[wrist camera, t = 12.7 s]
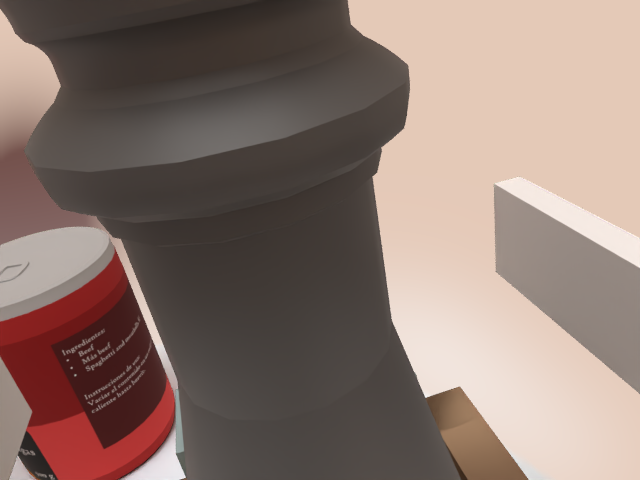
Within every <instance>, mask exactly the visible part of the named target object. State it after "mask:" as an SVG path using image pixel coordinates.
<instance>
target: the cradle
mask: <svg viewBox="0 0 640 480" xmlns="http://www.w3.org/2000/svg"><path fill="white" fill-rule="evenodd" d="M425 399H426V401H427V403H428V405H429V408H430V410H431V412H432V415H433V417H434V419H435V422H436V424H437V426H438V429H439V431H440V433H441V435H442V438H443V440H444V442H445V444H446V447H447V449H448V451H449V453H450V455H451V458H452V460H453V462H454V464H455V467H456V469H457V471H458V473H459V476H460V478H461V480H528V478H527V477H526V476H525V474H524V473H523V471H522V470H521V469H520V467H519V466H518V465H517V463H516V462H515V461H514V459H513V458H512V457H511V455H510V454H509V452H508V451H507V450H506V448H505V447H504V446H503V444H502V443H501V442H500V440H499V439H498V438H497V436H496V435H495V433H494V432H493V431H492V430H491V428H490V427H489V425H488V424H487V423H486V421H485V420H484V419H483V417H482V416H481V415H480V413H479V412H478V411H477V409H476V408H475V406H474V405H473V404H472V402H471V401H470V400H469V398H468V397H467V396H466V394H465V393H464V391H463V390H462V389H461V388H460V387H457V388H454V389H451V390H448V391H445V392H442V393H439V394H436V395H433V396H430V397H427V398H425ZM181 480H187V478H184V479H181Z"/></svg>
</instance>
